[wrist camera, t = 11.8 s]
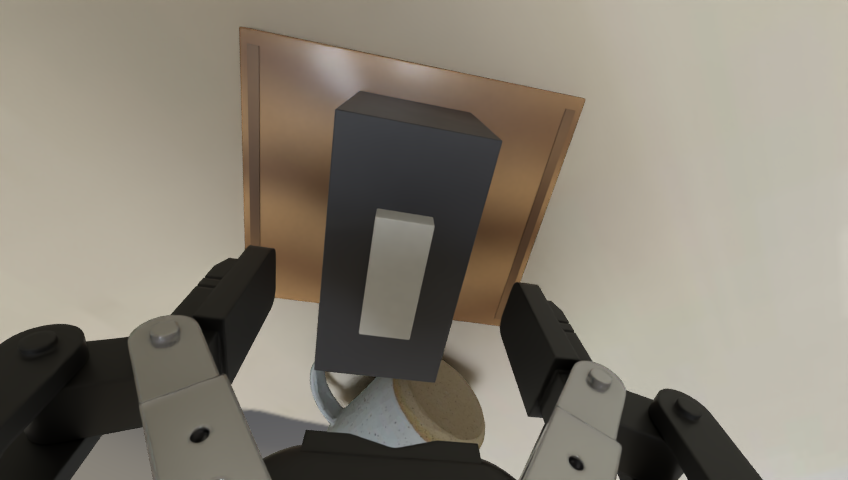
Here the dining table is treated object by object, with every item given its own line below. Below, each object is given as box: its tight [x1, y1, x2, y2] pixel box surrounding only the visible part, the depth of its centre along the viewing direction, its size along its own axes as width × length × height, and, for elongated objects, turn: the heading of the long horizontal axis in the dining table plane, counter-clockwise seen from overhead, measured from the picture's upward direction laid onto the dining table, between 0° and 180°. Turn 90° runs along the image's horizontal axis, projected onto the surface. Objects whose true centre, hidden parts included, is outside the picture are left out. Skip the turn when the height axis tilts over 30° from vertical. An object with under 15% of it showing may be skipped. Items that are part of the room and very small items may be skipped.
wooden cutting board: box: [239, 27, 585, 326], centre depth 20 cm, size 14×16×1 cm
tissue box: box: [314, 91, 502, 383], centre depth 17 cm, size 11×5×7 cm, turn 169°
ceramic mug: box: [310, 360, 485, 449], centre depth 23 cm, size 11×8×8 cm
